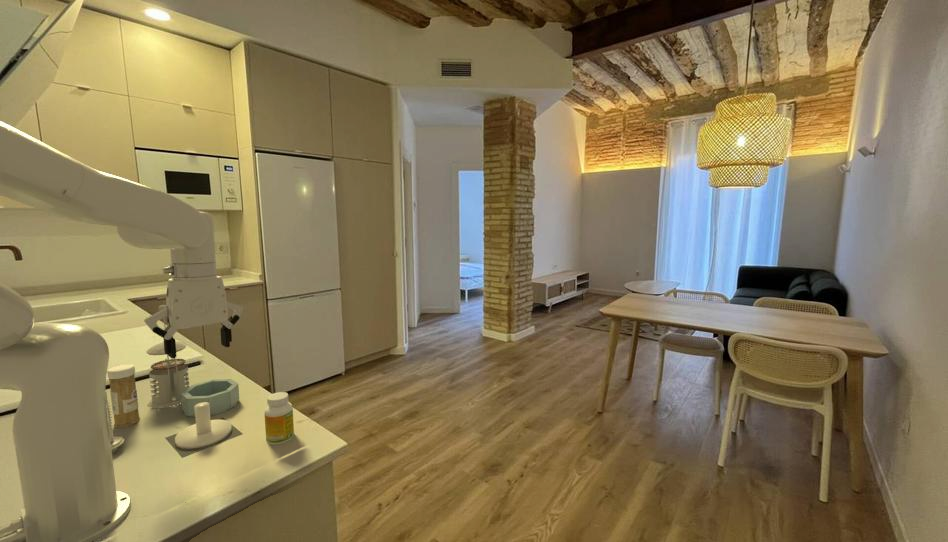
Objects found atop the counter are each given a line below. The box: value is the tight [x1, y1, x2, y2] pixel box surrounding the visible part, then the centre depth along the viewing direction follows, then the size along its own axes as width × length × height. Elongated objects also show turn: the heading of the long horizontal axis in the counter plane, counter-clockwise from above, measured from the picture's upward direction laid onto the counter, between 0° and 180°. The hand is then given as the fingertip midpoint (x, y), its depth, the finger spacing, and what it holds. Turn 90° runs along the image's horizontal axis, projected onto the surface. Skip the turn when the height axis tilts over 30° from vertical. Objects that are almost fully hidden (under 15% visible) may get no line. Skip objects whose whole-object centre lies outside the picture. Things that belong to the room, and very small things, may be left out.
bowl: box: [181, 378, 240, 418], centre depth 97 cm, size 11×11×5 cm
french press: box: [145, 304, 191, 409], centre depth 99 cm, size 10×12×25 cm
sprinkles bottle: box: [107, 364, 141, 428], centre depth 88 cm, size 5×5×13 cm
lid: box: [175, 402, 232, 449], centre depth 84 cm, size 10×10×7 cm
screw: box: [105, 391, 125, 454], centre depth 77 cm, size 13×5×5 cm
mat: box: [165, 417, 244, 458], centre depth 84 cm, size 11×11×1 cm
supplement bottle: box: [264, 391, 295, 445], centre depth 83 cm, size 5×5×10 cm
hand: (200, 351), depth 83 cm, fingers open, 9 cm apart
